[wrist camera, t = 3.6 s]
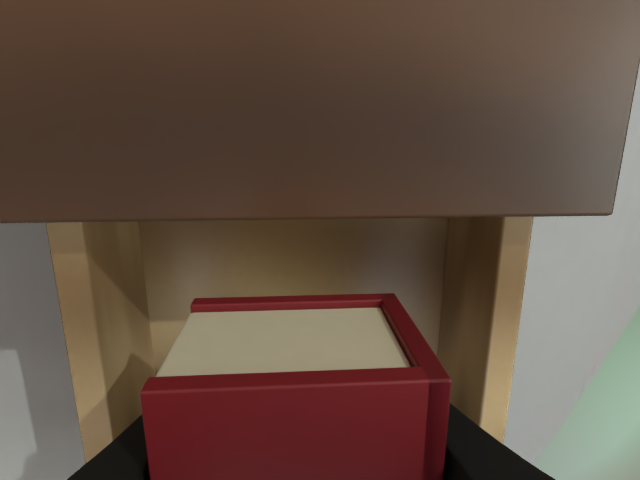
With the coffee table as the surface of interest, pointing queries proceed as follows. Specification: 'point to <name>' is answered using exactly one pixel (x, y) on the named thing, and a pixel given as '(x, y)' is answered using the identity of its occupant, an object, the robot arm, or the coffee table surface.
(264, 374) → the book
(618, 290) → the coffee table surface
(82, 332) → the drawer
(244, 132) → the cabinet
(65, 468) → the coffee table surface
